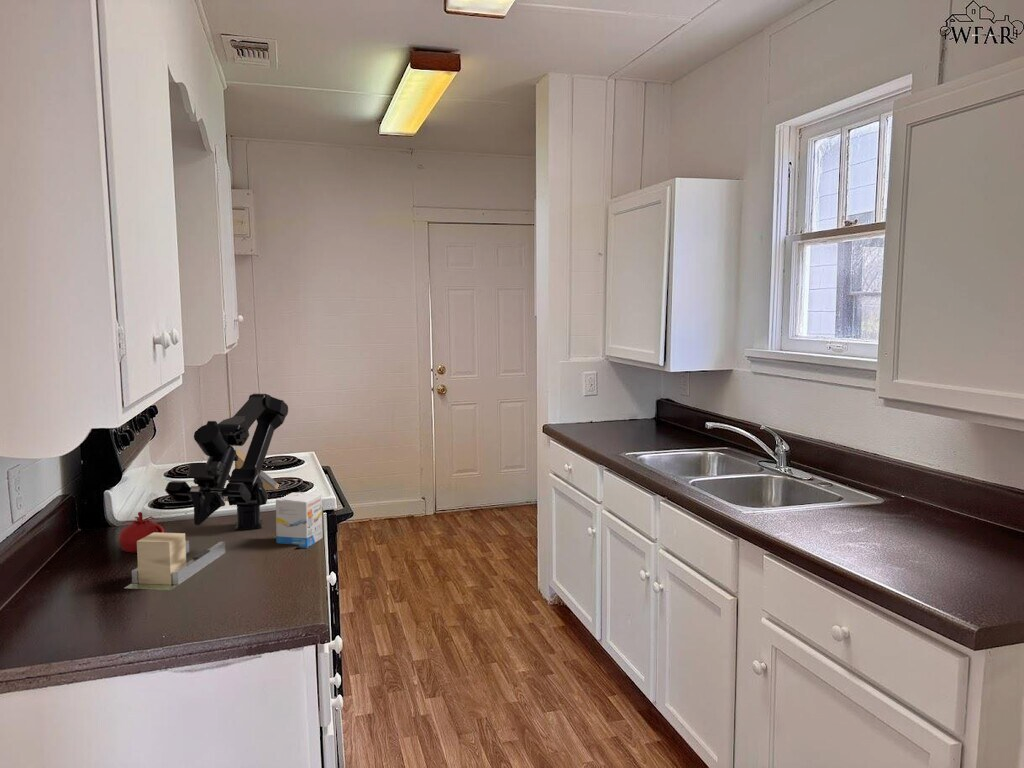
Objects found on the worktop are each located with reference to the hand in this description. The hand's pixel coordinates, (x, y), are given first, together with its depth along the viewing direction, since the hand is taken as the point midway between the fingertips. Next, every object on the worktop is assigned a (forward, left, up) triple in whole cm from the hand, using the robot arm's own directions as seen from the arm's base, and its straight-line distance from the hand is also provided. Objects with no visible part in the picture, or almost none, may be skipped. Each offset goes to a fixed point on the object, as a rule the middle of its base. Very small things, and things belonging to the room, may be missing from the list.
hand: (196, 524), depth 161 cm
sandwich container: (-57, +15, -9) cm, 59 cm away
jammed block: (+13, -6, -7) cm, 16 cm away
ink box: (-6, +23, -9) cm, 25 cm away
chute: (+6, -3, -8) cm, 11 cm away
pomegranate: (-12, -13, -9) cm, 19 cm away
